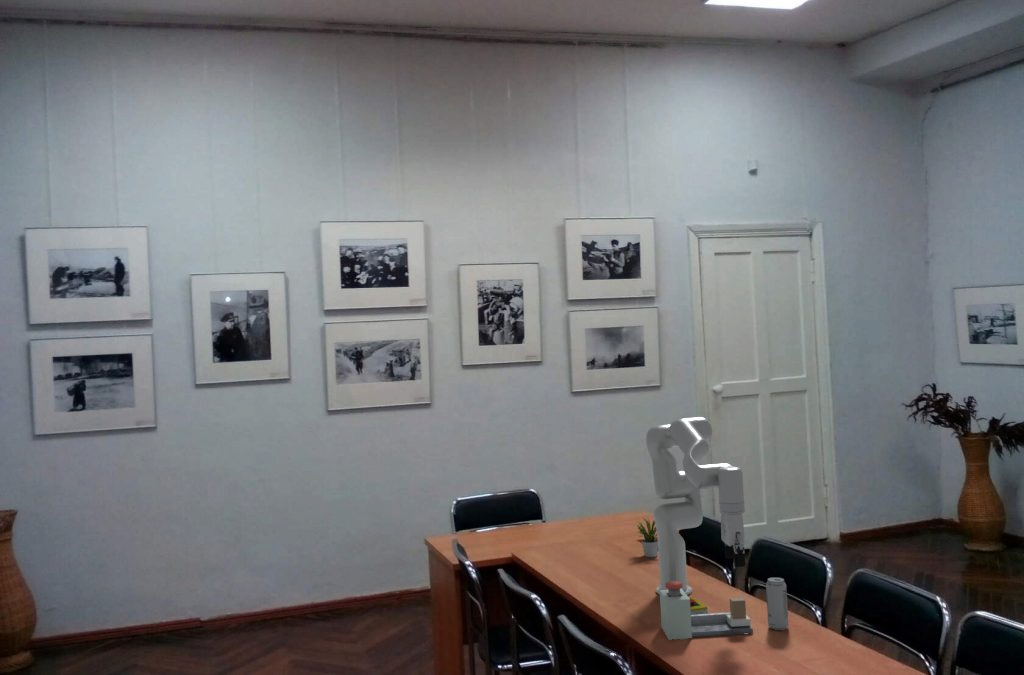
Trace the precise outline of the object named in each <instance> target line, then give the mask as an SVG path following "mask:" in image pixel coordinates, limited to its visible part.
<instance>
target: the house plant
mask: <svg viewBox="0 0 1024 675" xmlns="http://www.w3.org/2000/svg"><path fill="white" fill-rule="evenodd" d="M642 519H643V520H644V522H645V524H646V528H647V530H646V528H645V526H644V525H643V524H642V523H641V522H639V521H638V520H636V522H637V523H638V524H636V526H637V528H638V530H639V531H637V534H641V535H639V537H638V538H640V537H643V539H642V540H641V544H642V549H643V554H644V557H646V558H655V557H658V554H659V552H658V538H656V537H657V530H656V525H655V521H654V520H653V521H652V524H651V522H650V519H649V518H647V519H645V518H644V517H642ZM654 526H655V527H654Z"/></svg>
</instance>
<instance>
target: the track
mask: <svg viewBox="0 0 1024 675" xmlns="http://www.w3.org/2000/svg"><path fill="white" fill-rule="evenodd" d="M727 615H730V612H716V613H708V614H697V615H691V629H692V637H693V638H707V637H706V636H709V637H721V636H720V635H724V636H736V635H735V634H740V635H745V634H744V633H753V634H754V629H753V627H752V626H736V627H731V626H730V625H729V623H728V622H727ZM717 635H718V636H717ZM703 636H705V637H703Z"/></svg>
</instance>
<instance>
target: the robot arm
mask: <svg viewBox="0 0 1024 675" xmlns="http://www.w3.org/2000/svg"><path fill="white" fill-rule="evenodd" d="M712 427H713V426H712V424H711V423H710V421H709V420H708V419H707V418H705V417H702V416H696V417H685V418H684V417H683V418H678V419H675V420H673V421H672V422H671V423H669V424H659V425H655V426H652V427H651V428H649V429H648V431H647V432H646V435H645V436H646V437H645V441H646V448H647V451H648V453H649V455H650V458H651V462H652V472H653V474H652V475H653V481H654V483H653V484H654V489H655V493H656V496H657V498H659V499H661V500H674V499H675V500H676V499H684V501H676V502H669V503H662V504H660V505H658V506H657V507H655V509H654V511H653V521H655V525H654V526H656V534H657V536H656V537H657V540H658V567H659V585H658V586H657V587H656V588H655V591H656V593H657V594H658V595H660V590H668V588H666V586H665V583H666V582H669V581H678V582H682V585H683V587H682V588H680V589H682V590H683V591H684V592H685V594H686V595H687V596H688V595H691V594H692V593H693V588H692V587H691V586H689V585H688V577H687V573H688V572H687V555H686V554H687V553H686V542H685V540H684V537H683V536H681V534H680V533H679V531H680V530H686V529H693V528H697V527H699V526H701V525H702V523H703V518H704V517H703V516H704V514H703V506H702V503H703V502H702V496H701V490H708V489H718V502H719V504H718V505H719V513H720V514H721V515H720V516H721V517H720V529H721V530H720V533H721V534H720V535H721V541H722V542H723V543H724V555H725V557H724V558H725V559H726V560H733V565H734V567H735V568H743V567H746V559H745V555H746V554H745V547H744V545H745V540H746V539H745V526H744V517H743V516H744V515H743V514H744V513H745V512H746V511H745V510H746V509H745V508H746V507H745V494H744V490H745V489H744V476H743V470H742V468H740V467H738V466H733V465H732V464H730V463H727V462H721V463H711V464H701V465H699V464H698V462H700V461H702V460H703V459H704V458H705V457H706V456H708V453H709V451H710V444H709V442H708V441H709V440H710V439H711V438H712V435H713V428H712ZM675 448H679V449H680V450H681V451H682V453H683V455H684V456H683V459H682V468H683V470H678V467H677V458H676V456H674V454H673V453H672V451H671V450H669V449H675Z"/></svg>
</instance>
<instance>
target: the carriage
mask: <svg viewBox="0 0 1024 675" xmlns="http://www.w3.org/2000/svg"><path fill="white" fill-rule="evenodd" d="M746 608H747V606H746V599H744V597H730V598H729V611H730V615H727V622H728V623H729V625H730V626H731V627H736V626H751V624H752V623H751V618H750V617H749V616H748V614H747V609H746ZM751 627H752V626H751Z"/></svg>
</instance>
